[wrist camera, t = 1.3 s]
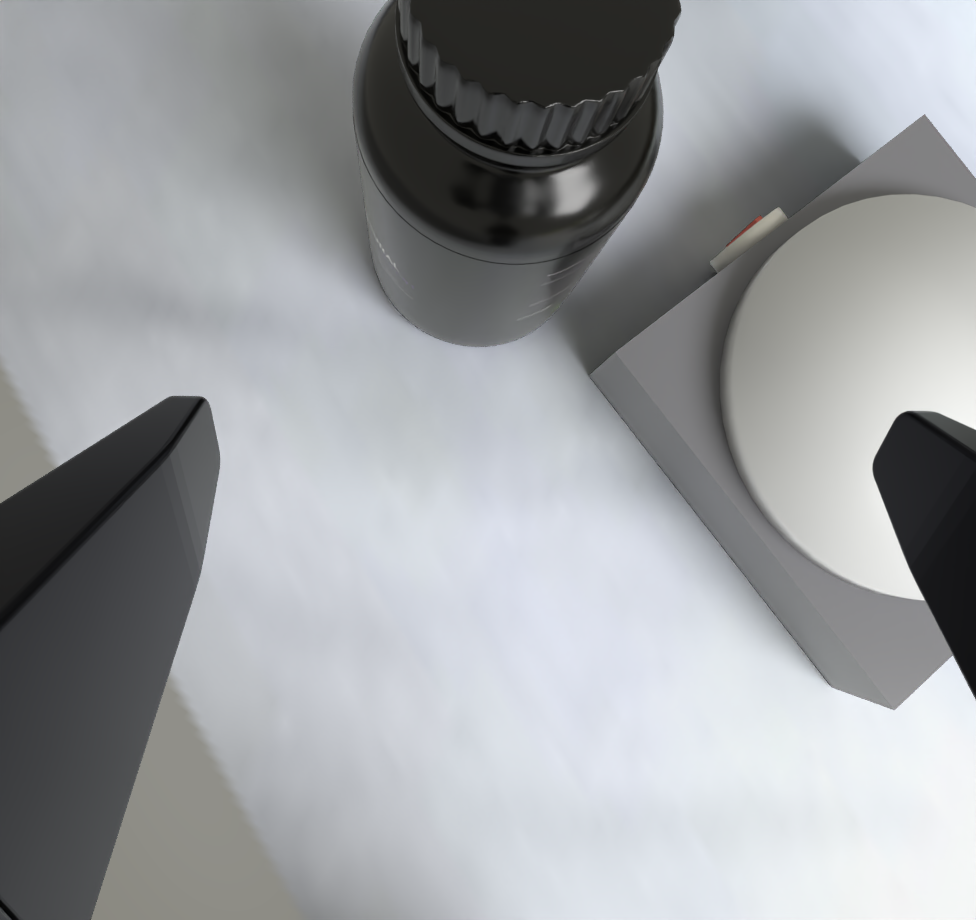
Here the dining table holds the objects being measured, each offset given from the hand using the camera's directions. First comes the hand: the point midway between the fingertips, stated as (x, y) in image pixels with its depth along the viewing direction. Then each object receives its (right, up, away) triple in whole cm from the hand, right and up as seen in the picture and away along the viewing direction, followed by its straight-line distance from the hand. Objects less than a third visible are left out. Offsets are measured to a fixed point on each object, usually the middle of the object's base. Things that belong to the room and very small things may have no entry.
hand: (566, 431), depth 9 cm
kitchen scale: (+11, +1, +15) cm, 19 cm away
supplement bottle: (-1, +6, +14) cm, 16 cm away
